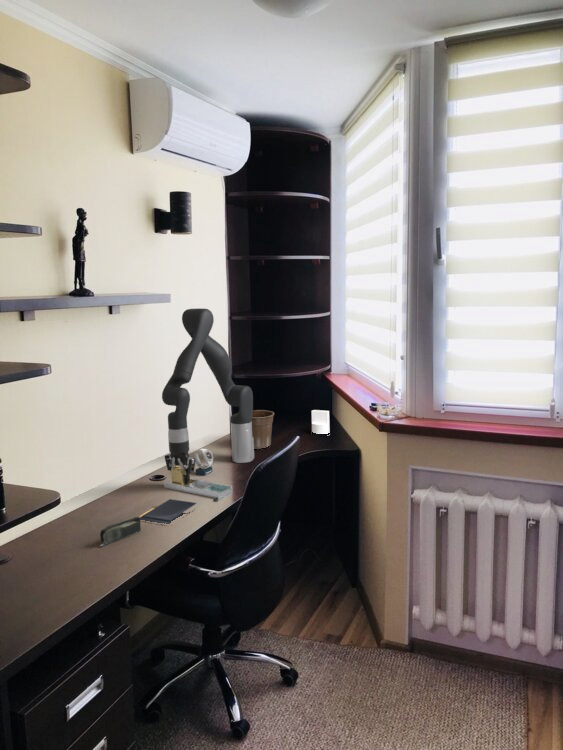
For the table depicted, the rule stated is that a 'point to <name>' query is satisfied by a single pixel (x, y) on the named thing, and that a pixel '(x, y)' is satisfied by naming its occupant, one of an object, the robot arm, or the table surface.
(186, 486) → the tray with compartments
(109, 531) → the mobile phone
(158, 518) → the dark blue notebook
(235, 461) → the robot arm
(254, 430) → the plant pot
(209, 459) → the watch
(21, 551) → the table surface
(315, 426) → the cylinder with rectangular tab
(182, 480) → the tan block
